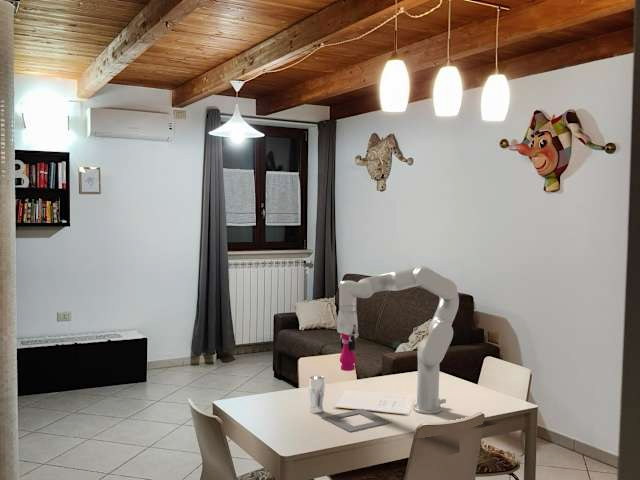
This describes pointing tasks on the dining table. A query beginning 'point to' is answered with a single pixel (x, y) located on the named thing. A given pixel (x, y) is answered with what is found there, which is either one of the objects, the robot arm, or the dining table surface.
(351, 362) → the pepper mill
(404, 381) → the dining table surface
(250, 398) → the dining table surface
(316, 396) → the beer glass
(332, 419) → the letter o mat
